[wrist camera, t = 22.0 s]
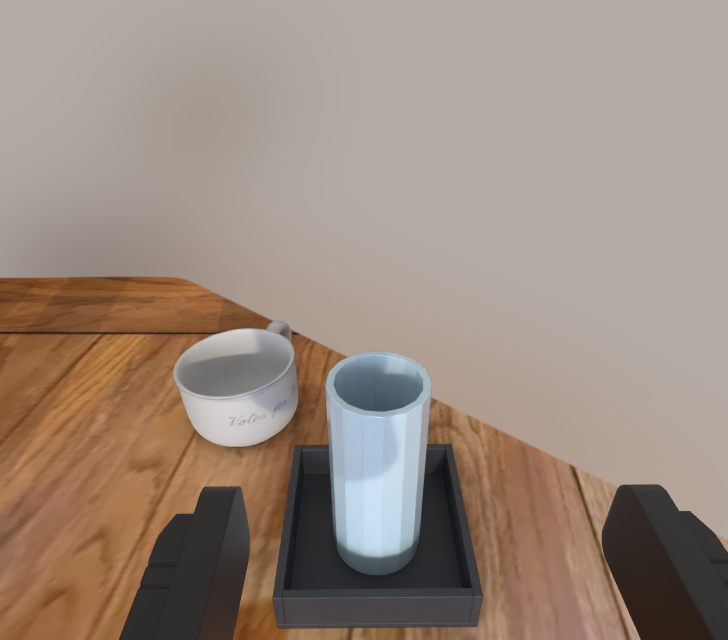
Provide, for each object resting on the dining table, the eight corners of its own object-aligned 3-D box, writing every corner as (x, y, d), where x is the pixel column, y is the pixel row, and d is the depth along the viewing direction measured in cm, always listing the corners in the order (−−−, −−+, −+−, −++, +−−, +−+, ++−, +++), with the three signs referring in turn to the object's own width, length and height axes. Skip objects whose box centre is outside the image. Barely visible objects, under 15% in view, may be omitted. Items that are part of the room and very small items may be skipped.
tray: (277, 628, 34) (272, 598, 33) (297, 473, 46) (294, 444, 44) (477, 626, 34) (483, 596, 33) (448, 472, 46) (451, 443, 44)
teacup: (245, 483, 45) (232, 412, 41) (164, 433, 50) (146, 366, 46) (341, 396, 54) (339, 332, 50) (265, 362, 60) (258, 301, 56)
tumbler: (318, 551, 39) (305, 394, 31) (360, 490, 43) (358, 341, 36) (395, 591, 36) (403, 431, 28) (431, 522, 41) (446, 368, 33)
